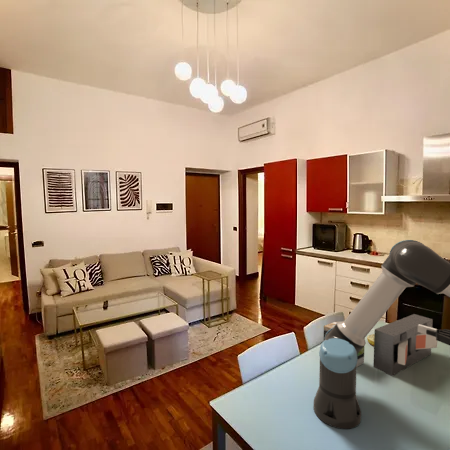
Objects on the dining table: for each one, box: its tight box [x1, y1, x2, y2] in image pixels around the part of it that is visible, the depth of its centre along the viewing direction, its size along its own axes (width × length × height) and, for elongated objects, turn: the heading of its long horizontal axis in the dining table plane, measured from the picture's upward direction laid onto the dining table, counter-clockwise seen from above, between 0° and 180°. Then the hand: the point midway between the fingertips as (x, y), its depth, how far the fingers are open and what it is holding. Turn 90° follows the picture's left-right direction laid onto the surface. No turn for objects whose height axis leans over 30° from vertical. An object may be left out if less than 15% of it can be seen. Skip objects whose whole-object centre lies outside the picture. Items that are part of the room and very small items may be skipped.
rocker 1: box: [398, 339, 408, 365], centre depth 122 cm, size 12×3×7 cm, turn 143°
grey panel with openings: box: [372, 313, 434, 377], centre depth 130 cm, size 34×8×17 cm, turn 121°
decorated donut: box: [366, 333, 374, 347], centre depth 147 cm, size 10×11×4 cm
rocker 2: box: [416, 333, 438, 350], centre depth 132 cm, size 12×3×7 cm, turn 99°
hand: (418, 327), depth 113 cm, fingers closed
